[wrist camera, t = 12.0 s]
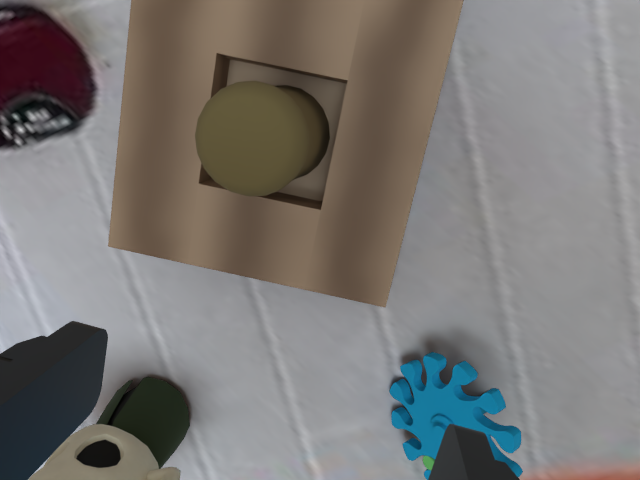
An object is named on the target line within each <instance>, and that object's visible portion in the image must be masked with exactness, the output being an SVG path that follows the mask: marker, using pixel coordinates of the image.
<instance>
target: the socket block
mask: <svg viewBox="0 0 640 480" xmlns="http://www.w3.org/2000/svg"><path fill="white" fill-rule="evenodd" d="M463 1H464V0H131V10H130V21H129V32H128V42H127V53H126V63H125V74H124V84H123V95H122V106H121V116H120V127H119V137H118V148H117V158H116V169H115V180H114V190H113V201H112V211H111V222H110V232H109V243H108V246H109V247H113V248H118V249H122V250H127V251H131V252H136V253H140V254H145V255H150V256H154V257H159V258H163V259H168V260H172V261H177V262H181V263H186V264H190V265H195V266H200V267H204V268H209V269H213V270H218V271H222V272H227V273H231V274H236V275H240V276H245V277H250V278H254V279H259V280H263V281H268V282H272V283H277V284H281V285H286V286H290V287H295V288H300V289H304V290H309V291H313V292H318V293H322V294H327V295H331V296H336V297H340V298H345V299H350V300H354V301H359V302H363V303H368V304H372V305H377V306H381V307H386V303H387V299H388V295H389V291H390V287H391V283H392V279H393V275H394V271H395V267H396V264H397V260H398V256H399V252H400V248H401V244H402V240H403V236H404V232H405V228H406V224H407V220H408V216H409V213H410V209H411V205H412V201H413V197H414V193H415V189H416V185H417V181H418V177H419V173H420V169H421V165H422V162H423V158H424V154H425V150H426V146H427V142H428V138H429V134H430V130H431V126H432V122H433V118H434V114H435V111H436V107H437V103H438V99H439V95H440V91H441V87H442V83H443V79H444V75H445V71H446V67H447V63H448V60H449V56H450V52H451V48H452V44H453V40H454V36H455V32H456V28H457V24H458V20H459V16H460V12H461V9H462V5H463ZM243 81H259V82H263V83H266V84H270V85H273V86H280V85H289V86H293V87H296V88H300V89H302V90H304V91H305V92H307V93H308V94H310V95H312V96H313V97H314V98H315V99H316V100H317V102H318V103H319V104H320V105H321V107H322V108H323V109H324V112H325V114H326V117H327V119H328V122H329V132H330V140H329V144H328V148H327V152H326V154H325V156H324V157H323V159H322V160H321V162H320V164H319V165H318V166H317V167H316V168H315V169H313V170H312V171H311V172H310V173H309V174H307V175H305V176H302V177H300V178H297V179H295V180H292V181H291V182H290V183H289V184H287V185H286V186H285V187H284V188H283V189H281V190H279V191H276V192H274V193H271V194H269V195H266V196H245V195H241V194H237V193H234V192H231V191H229V190H227V189H226V188H224V187H222V186H221V185H219V184H218V183H216V182H215V181H214V180H213V179H212V177H211V176H210V175H209V174H208V173H207V172H206V170H205V169H204V167H203V165H202V163H201V161H200V158H199V156H198V154H197V149H196V141H195V132H196V126H197V121H198V117H199V115H200V114H201V112H202V110H203V108H204V106H205V104H206V103H207V101H208V100H210V99H211V98H212V97H213V96H214V95H215V94H216V93H217V92H218V91H219V90H220V89H222V88H224V87H227V86H229V85H231V84H234V83H236V82H243Z"/></svg>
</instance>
